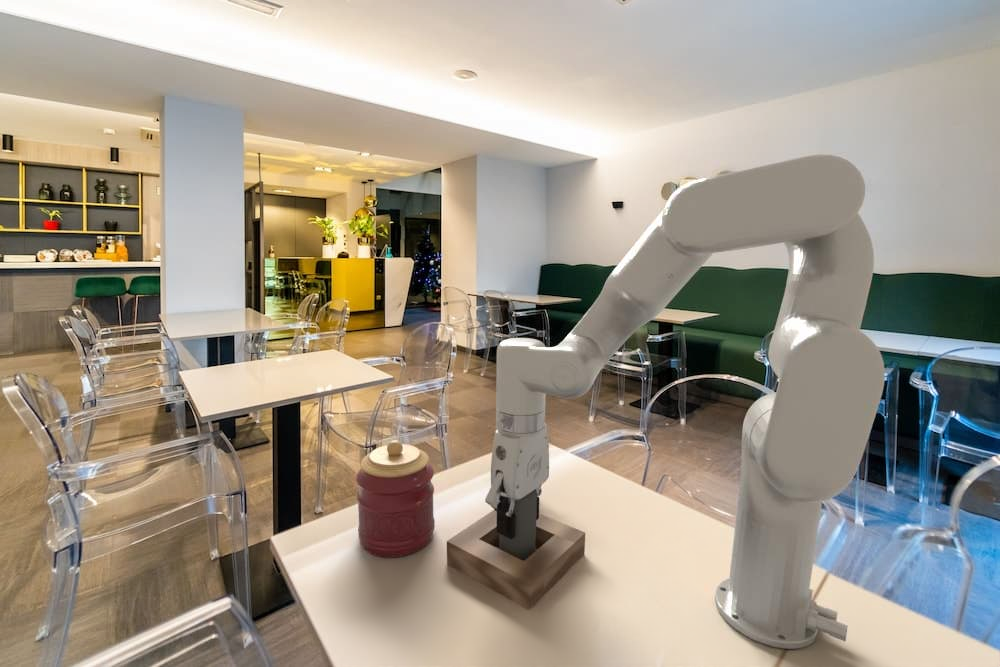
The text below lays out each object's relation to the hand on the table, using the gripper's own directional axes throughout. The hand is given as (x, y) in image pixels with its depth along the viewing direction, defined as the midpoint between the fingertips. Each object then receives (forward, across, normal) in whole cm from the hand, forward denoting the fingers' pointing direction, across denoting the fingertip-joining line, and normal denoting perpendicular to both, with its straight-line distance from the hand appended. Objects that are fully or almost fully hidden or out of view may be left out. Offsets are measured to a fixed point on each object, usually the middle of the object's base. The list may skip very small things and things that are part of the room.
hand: (518, 524), depth 79 cm
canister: (+6, -8, +20) cm, 23 cm away
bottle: (+5, 0, 0) cm, 5 cm away
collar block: (+6, 0, 0) cm, 6 cm away
